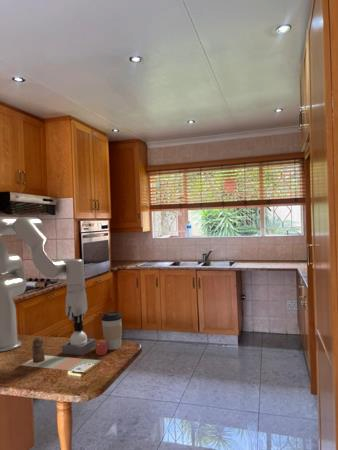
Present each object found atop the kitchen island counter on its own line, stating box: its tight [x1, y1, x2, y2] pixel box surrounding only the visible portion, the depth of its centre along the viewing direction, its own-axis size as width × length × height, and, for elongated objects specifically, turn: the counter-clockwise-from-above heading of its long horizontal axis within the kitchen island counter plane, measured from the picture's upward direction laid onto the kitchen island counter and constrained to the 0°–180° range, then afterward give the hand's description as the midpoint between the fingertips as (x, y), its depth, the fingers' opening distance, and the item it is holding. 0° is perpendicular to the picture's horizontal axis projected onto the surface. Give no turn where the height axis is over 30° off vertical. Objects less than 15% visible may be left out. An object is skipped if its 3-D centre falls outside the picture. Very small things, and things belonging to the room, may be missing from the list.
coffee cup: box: [100, 311, 123, 351], centre depth 155 cm, size 9×9×15 cm
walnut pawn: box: [31, 337, 45, 363], centre depth 141 cm, size 4×4×9 cm
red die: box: [95, 341, 108, 356], centre depth 147 cm, size 4×4×4 cm
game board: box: [20, 354, 103, 374], centre depth 138 cm, size 30×11×1 cm, turn 70°
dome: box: [69, 330, 88, 346], centre depth 151 cm, size 7×7×7 cm
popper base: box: [61, 338, 97, 356], centre depth 151 cm, size 10×10×4 cm
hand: (78, 330), depth 151 cm, fingers closed
